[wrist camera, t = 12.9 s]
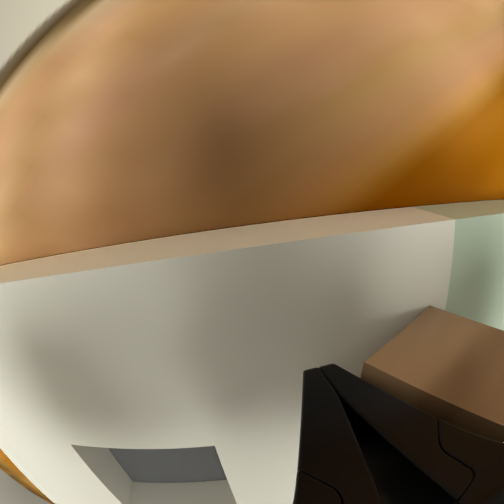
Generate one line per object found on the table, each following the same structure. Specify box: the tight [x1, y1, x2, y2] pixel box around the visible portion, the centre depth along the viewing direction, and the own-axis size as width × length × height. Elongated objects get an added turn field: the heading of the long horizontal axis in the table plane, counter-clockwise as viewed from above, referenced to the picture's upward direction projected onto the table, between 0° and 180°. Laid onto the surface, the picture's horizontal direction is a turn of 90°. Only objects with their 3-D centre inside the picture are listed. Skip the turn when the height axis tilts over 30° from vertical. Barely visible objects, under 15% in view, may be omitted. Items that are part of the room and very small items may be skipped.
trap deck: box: [0, 199, 504, 504], centre depth 10 cm, size 14×28×2 cm, turn 96°
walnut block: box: [361, 306, 504, 442], centre depth 6 cm, size 4×4×4 cm
